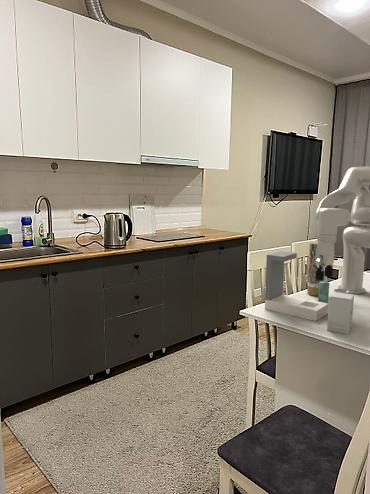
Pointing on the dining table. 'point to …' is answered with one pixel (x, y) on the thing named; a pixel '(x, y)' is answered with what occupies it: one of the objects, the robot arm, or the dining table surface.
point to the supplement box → (340, 312)
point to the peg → (323, 292)
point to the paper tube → (312, 271)
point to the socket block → (285, 302)
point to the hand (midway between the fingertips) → (323, 278)
